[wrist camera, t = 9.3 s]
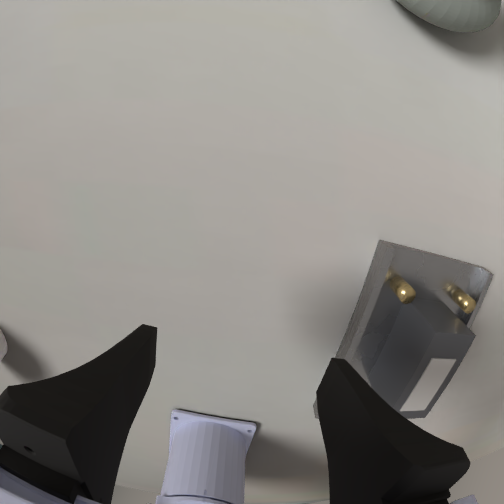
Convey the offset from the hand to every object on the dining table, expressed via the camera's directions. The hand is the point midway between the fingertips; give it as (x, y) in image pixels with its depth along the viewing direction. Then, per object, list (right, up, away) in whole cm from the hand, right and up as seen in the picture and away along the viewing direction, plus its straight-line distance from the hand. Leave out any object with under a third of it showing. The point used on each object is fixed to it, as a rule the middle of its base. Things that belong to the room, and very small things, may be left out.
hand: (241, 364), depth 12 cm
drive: (+13, -3, +11) cm, 17 cm away
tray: (+13, -3, +11) cm, 18 cm away
